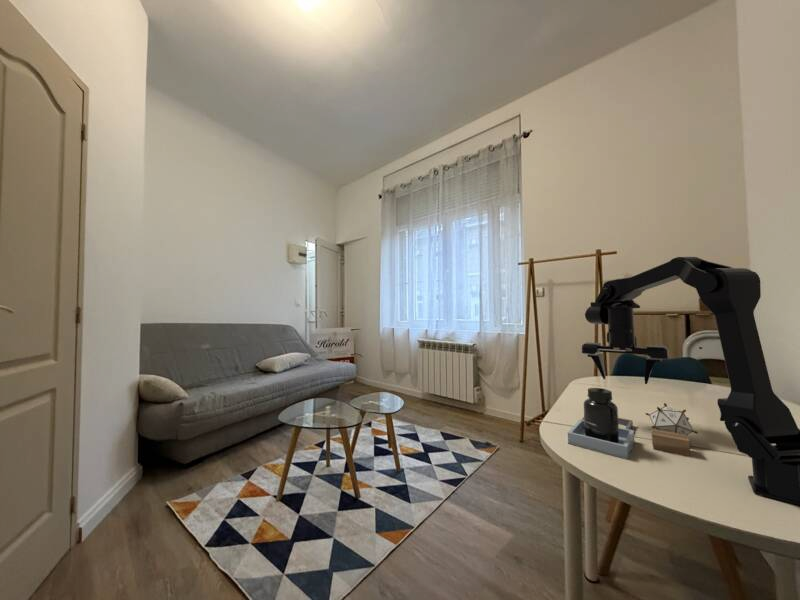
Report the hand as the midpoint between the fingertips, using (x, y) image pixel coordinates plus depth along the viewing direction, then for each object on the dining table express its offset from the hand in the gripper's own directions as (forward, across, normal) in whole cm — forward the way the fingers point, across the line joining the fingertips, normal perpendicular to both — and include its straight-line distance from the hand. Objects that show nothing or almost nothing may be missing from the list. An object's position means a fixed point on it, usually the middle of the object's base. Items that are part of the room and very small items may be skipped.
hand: (624, 381), depth 80 cm
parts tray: (+12, +3, +17) cm, 21 cm away
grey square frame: (+12, +4, +5) cm, 14 cm away
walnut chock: (+12, -9, +11) cm, 19 cm away
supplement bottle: (+12, +3, +17) cm, 21 cm away
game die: (+12, -9, +4) cm, 16 cm away
